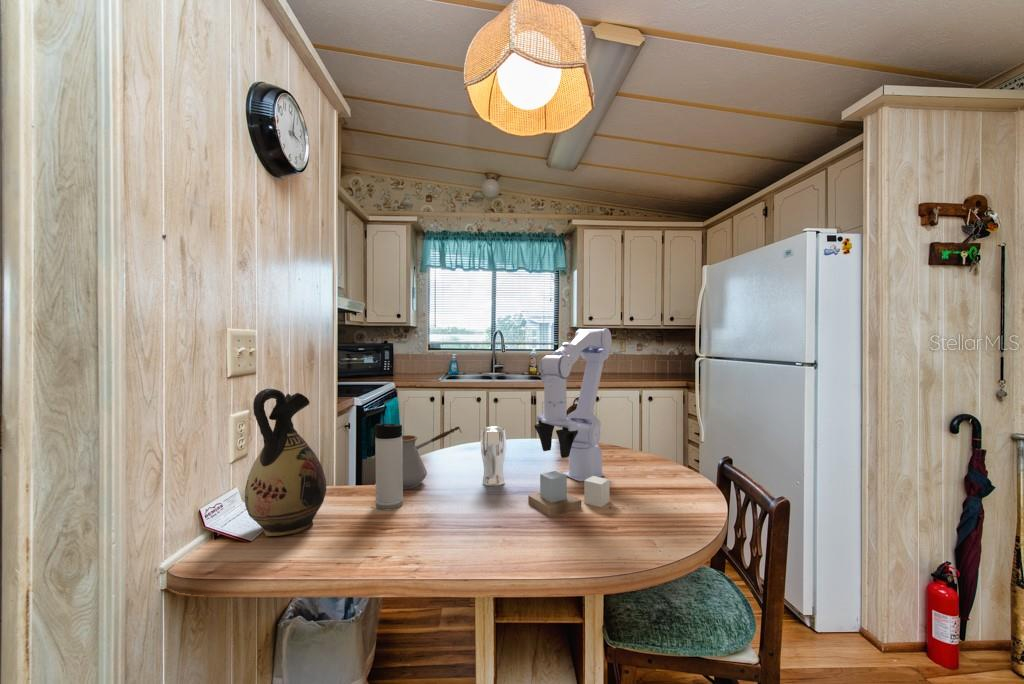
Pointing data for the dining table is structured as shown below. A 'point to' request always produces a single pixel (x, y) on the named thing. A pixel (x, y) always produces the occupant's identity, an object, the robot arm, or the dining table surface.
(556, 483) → the slate block
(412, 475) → the coffee pot
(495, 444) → the beer glass
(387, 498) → the travel mug
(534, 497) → the brown block
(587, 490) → the cream block
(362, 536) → the dining table surface
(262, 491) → the ceramic jug
